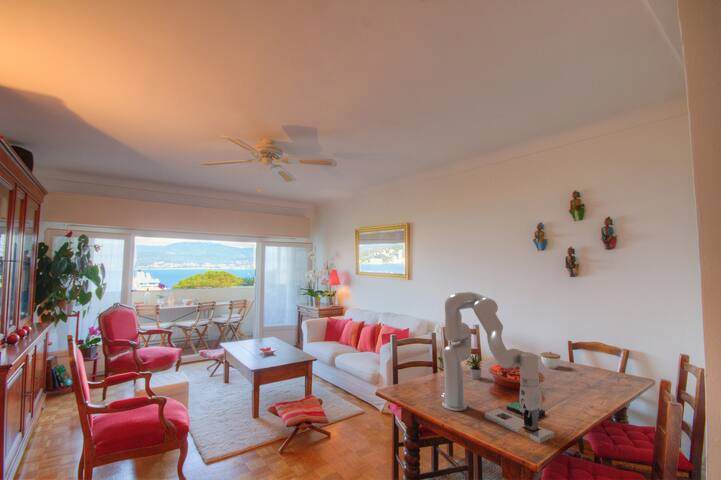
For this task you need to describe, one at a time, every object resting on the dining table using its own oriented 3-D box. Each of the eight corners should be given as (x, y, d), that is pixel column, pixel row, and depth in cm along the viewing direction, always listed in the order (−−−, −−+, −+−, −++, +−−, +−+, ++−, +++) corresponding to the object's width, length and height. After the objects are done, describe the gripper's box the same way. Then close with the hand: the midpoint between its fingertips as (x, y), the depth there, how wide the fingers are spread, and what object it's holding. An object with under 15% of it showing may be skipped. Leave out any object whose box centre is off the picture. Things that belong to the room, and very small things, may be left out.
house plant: (464, 373, 234) (463, 348, 235) (485, 375, 230) (484, 350, 231) (463, 379, 221) (463, 354, 222) (486, 382, 216) (485, 355, 218)
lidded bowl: (545, 363, 257) (544, 348, 258) (563, 367, 247) (563, 352, 248) (538, 367, 249) (537, 351, 250) (556, 371, 239) (556, 355, 240)
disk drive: (545, 416, 169) (516, 406, 181) (545, 410, 169) (516, 400, 181) (534, 421, 163) (505, 410, 175) (534, 415, 163) (505, 405, 175)
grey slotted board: (484, 417, 166) (484, 413, 166) (498, 413, 171) (498, 408, 171) (539, 443, 142) (539, 438, 142) (553, 437, 147) (553, 432, 147)
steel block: (524, 429, 151) (523, 406, 152) (529, 427, 153) (529, 404, 154) (532, 433, 148) (531, 409, 148) (538, 431, 150) (537, 407, 150)
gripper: (525, 387, 145) (527, 432, 143) (548, 380, 153) (550, 423, 151) (509, 382, 151) (511, 425, 150) (533, 376, 159) (534, 416, 158)
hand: (531, 423), depth 151 cm, fingers closed on steel block, 4 cm apart
